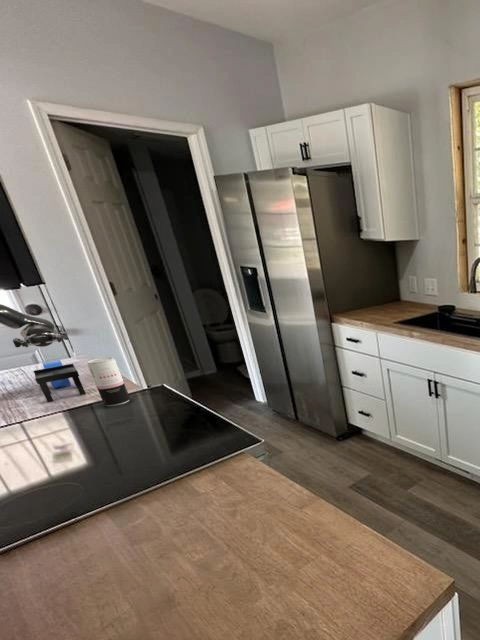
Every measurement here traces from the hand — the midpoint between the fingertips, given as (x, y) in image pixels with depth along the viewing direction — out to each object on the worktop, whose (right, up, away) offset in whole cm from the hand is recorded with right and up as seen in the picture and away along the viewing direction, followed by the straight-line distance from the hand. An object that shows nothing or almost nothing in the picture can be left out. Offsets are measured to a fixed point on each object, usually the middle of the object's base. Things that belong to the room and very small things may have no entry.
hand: (42, 342), depth 156 cm
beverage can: (+46, -22, -18) cm, 55 cm away
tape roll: (+9, -17, -1) cm, 19 cm away
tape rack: (+18, -19, -9) cm, 28 cm away
